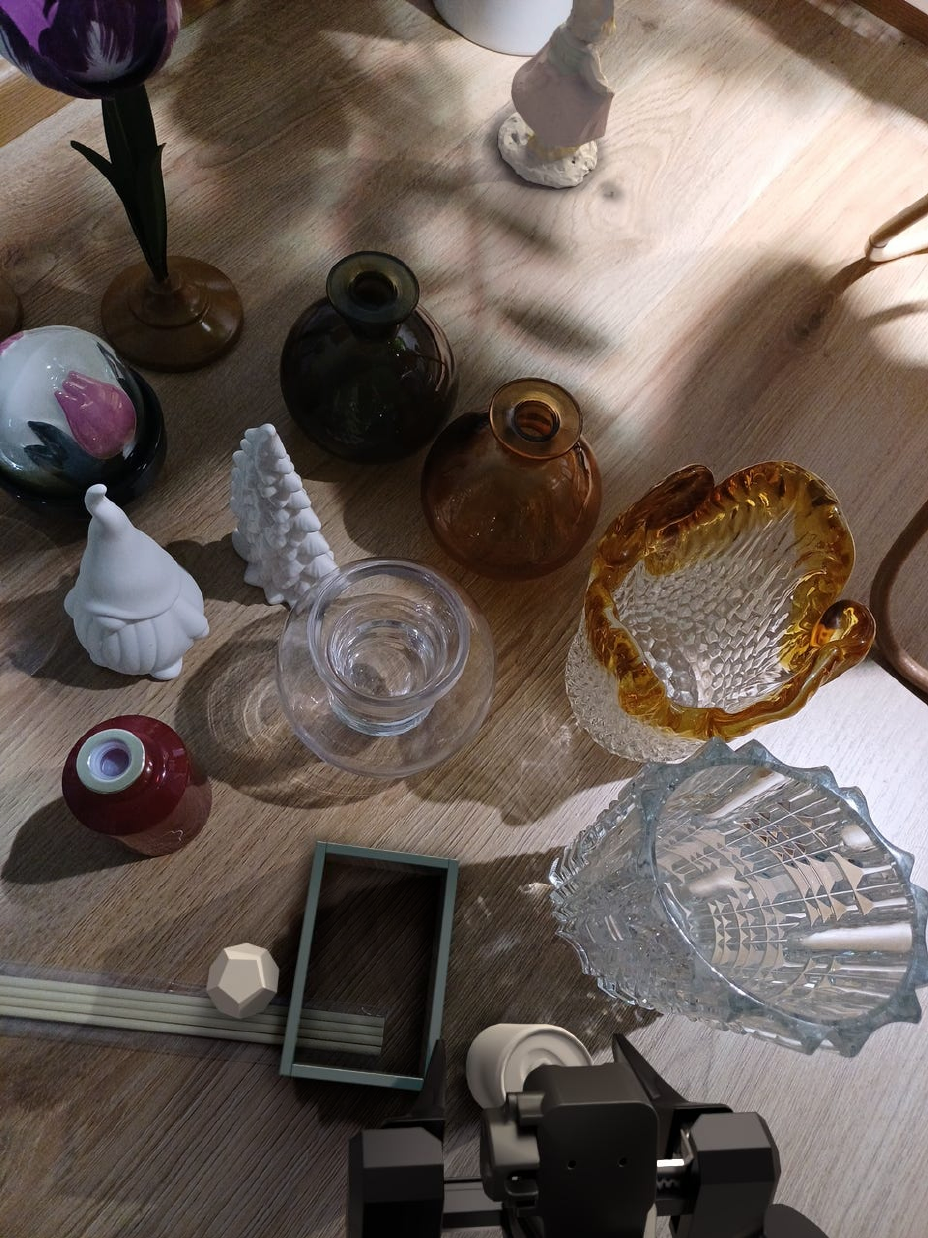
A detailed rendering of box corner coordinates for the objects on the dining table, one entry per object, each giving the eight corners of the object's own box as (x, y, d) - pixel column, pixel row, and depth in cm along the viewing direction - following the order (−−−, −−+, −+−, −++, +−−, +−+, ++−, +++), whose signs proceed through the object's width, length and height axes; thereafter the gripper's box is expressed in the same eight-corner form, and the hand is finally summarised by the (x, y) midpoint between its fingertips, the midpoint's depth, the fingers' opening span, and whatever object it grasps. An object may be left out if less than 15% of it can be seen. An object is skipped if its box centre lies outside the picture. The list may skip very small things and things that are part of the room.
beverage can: (499, 1135, 58) (543, 1163, 47) (445, 1062, 59) (475, 1072, 48) (563, 1074, 59) (620, 1088, 48) (510, 1004, 60) (553, 1002, 49)
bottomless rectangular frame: (427, 1088, 58) (434, 1092, 55) (280, 1072, 57) (278, 1075, 54) (452, 867, 63) (459, 859, 59) (316, 850, 62) (316, 840, 59)
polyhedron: (216, 1026, 58) (211, 1027, 55) (202, 958, 59) (196, 954, 56) (287, 1004, 59) (286, 1003, 56) (272, 937, 60) (269, 932, 57)
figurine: (652, 128, 85) (688, 7, 70) (596, 232, 85) (620, 132, 70) (536, 70, 86) (547, -62, 71) (479, 173, 85) (478, 61, 70)
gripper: (881, 1205, 37) (730, 913, 51) (356, 1236, 35) (349, 920, 49) (816, 1395, 42) (693, 1078, 56) (347, 1434, 39) (343, 1093, 53)
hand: (528, 1042), depth 53 cm, fingers open, 9 cm apart
